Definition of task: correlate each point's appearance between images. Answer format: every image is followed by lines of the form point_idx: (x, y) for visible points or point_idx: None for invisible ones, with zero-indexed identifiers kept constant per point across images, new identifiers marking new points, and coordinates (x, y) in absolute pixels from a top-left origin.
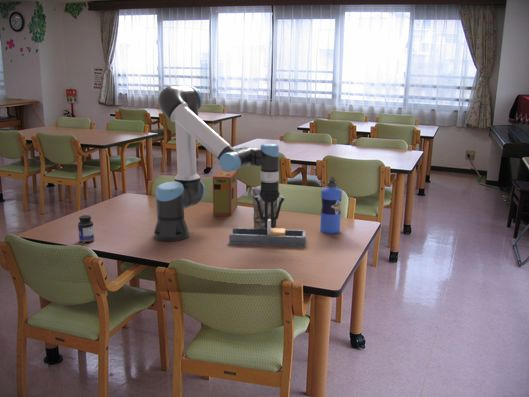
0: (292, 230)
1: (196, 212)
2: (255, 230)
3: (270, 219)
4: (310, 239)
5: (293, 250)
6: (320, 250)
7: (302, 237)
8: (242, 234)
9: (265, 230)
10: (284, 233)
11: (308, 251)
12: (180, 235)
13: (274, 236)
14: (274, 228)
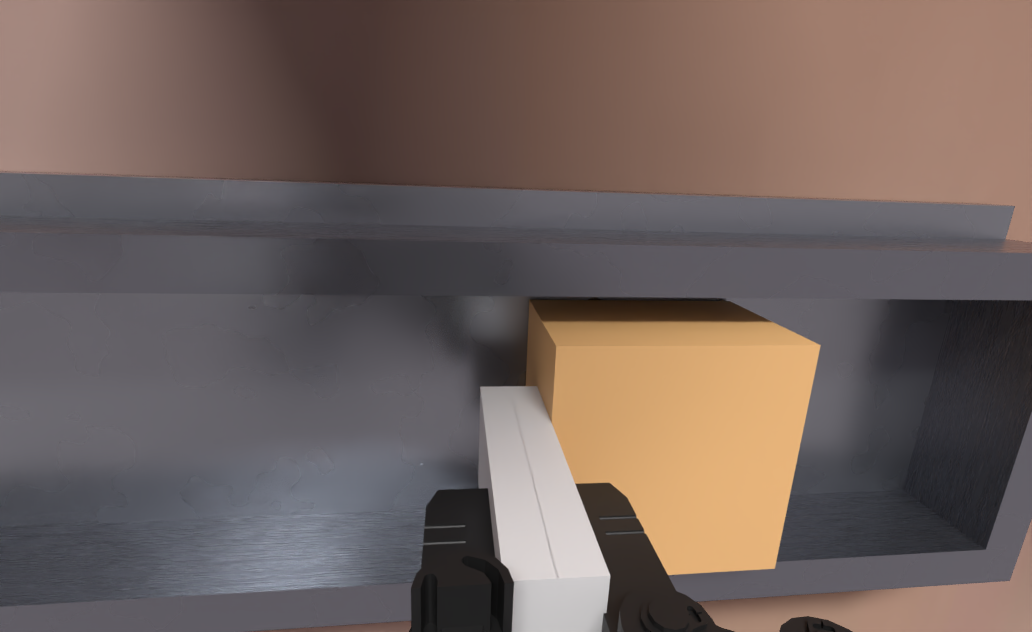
0: (911, 295)
1: None
2: (224, 288)
3: (584, 609)
4: None
5: (764, 622)
6: (1017, 579)
7: (974, 581)
8: (46, 616)
9: (426, 290)
10: (764, 556)
11: (901, 622)
12: None
13: None
14: (613, 372)
